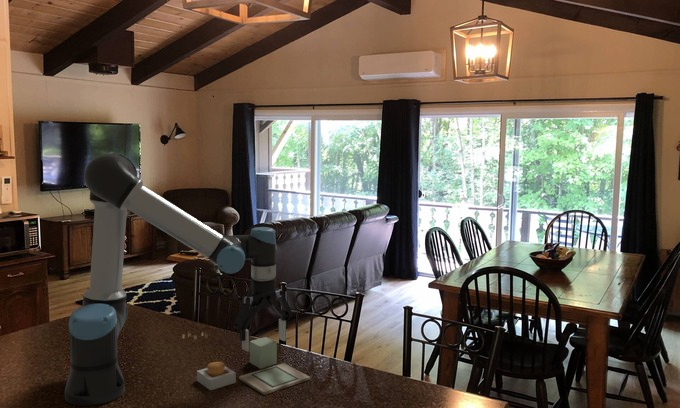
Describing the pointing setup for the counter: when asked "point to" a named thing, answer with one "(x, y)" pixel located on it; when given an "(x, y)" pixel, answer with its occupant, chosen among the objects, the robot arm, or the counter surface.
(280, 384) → the beige flat rectangular board
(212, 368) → the button
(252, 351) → the sage block
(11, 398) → the counter surface
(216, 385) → the button housing
